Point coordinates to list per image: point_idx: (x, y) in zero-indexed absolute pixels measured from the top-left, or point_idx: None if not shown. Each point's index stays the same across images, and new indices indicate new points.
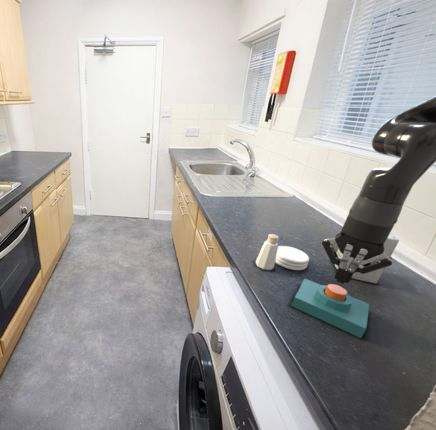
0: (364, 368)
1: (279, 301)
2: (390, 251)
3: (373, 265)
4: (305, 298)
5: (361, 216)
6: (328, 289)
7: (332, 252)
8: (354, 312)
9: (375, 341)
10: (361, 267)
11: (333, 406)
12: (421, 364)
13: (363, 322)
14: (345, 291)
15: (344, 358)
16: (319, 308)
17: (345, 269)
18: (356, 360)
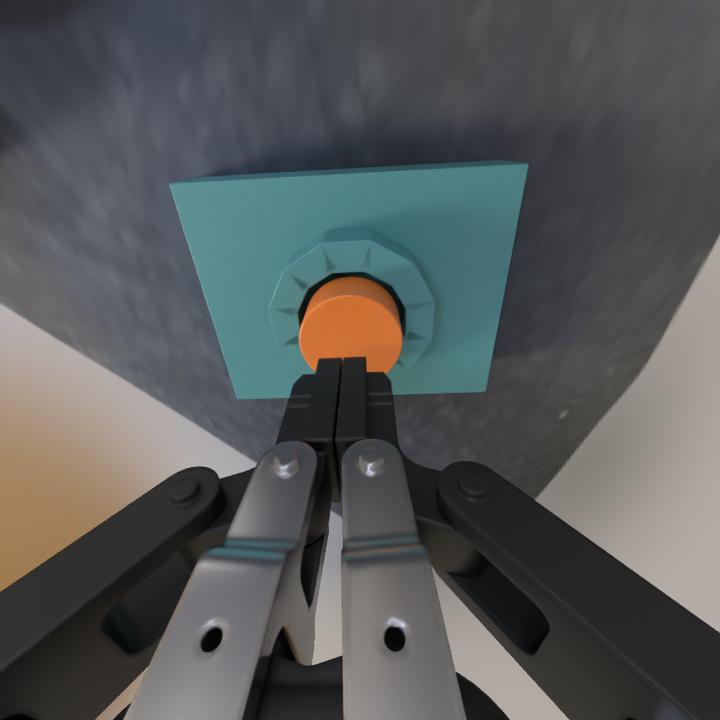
0: (471, 460)
1: (212, 374)
2: None
3: (560, 695)
4: (267, 378)
5: None
6: (316, 367)
7: (119, 691)
8: (448, 321)
9: (515, 341)
10: (446, 565)
11: None
12: (633, 347)
13: (479, 363)
14: (391, 333)
15: (430, 461)
16: None
17: (333, 484)
18: (455, 450)
